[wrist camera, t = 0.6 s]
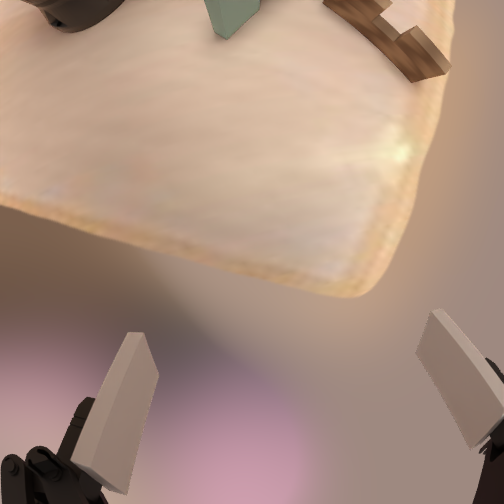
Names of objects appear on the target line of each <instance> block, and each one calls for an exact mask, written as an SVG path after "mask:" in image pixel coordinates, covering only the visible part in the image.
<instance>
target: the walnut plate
mask: <svg viewBox="0 0 504 504" xmlns="http://www.w3.org/2000/svg"><path fill="white" fill-rule="evenodd" d="M323 4H325V5H326V6H327V7H329V8H330V9H332V10H333V11H334V12H336V13H337V14H338V15H340V16H341V17H342V18H344V19H345V20H346V21H347V22H349V23H350V24H351V25H352V26H354V27H355V28H356V29H357V30H358V31H360V32H361V33H362V34H363V35H364V36H365V37H366V38H368V39H369V40H370V41H371V42H372V43H373V44H374V45H375V46H376V47H377V48H379V49H380V50H381V51H382V52H383V53H384V54H385V55H386V56H387V57H388V58H389V59H390V60H391V61H392V62H393V63H394V64H395V65H396V66H397V67H398V68H399V69H400V71H401V72H402V73H403V74H404V75H405V76H406V77H407V78H408V79H409V80H410V82H411V83H412V82H416V81H420V80H424V79H428V78H432V77H436V76H440V75H445V74H446V73H447V72H448V71H449V69H450V68H451V67H452V65H451V64H450V63H449V61H448V60H447V59H446V58H445V57H444V55H443V54H442V53H441V52H440V50H439V49H438V48H437V47H436V46H435V45H434V43H433V42H432V41H431V40H430V39H429V38H428V37H427V36H426V35H425V34H424V33H423V31H422V30H421V29H420V28H419V27H418V26H417V25H416V26H415V27H413V28H411V29H409V30H407V31H406V32H404V33H402V34H400V33H399V32H398V31H397V30H396V29H394V28H393V27H392V26H391V25H390V24H389V23H388V22H387V21H386V20H385V19H384V18H382V17H381V16H380V15H379V14H381V13H382V12H383V11H384V10H386V9H387V8H388V7H389V6H390V5H391V4H392V2H391V1H390V0H324V2H323Z"/></svg>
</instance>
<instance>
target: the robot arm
mask: <svg viewBox="0 0 504 504" xmlns="http://www.w3.org/2000/svg"><path fill="white" fill-rule="evenodd" d="M22 1H24V2H27V3H29V4H32V5H34V6H36V7H38V8H39V9H40V11H41V12H42V14H43V15H44V17H45V18H46V20H47V21H48V22H49V24H50V25H51V26H52V27H54V28H56V29H58V30H60V31H63V32H77V31H81V30H84V29H86V28H88V27H90V26H92V25H94V24H96V23H98V22H99V21H101V20H102V19H104V18H105V17H106V16H108V15H109V14H110V13H111V12H113V11H114V10H115V9H116V8H117V7H118V6H119V5H120V4H121V3H122V2H123V1H124V0H22ZM416 355H417V356H418V358H419V360H420V361H421V363H422V364H423V366H424V368H425V369H426V371H427V372H428V374H429V375H430V377H431V379H432V381H433V382H434V384H435V386H436V388H437V389H438V391H439V393H440V394H441V396H442V398H443V400H444V401H445V403H446V405H447V407H448V408H449V410H450V412H451V414H452V416H453V418H454V419H455V422H456V423H457V425H458V427H459V429H460V431H461V433H462V435H463V437H464V439H465V441H466V443H467V445H468V447H469V449H470V450H471V449H473V448H474V447H476V446H478V445H479V444H481V443H482V442H483V441H484V440H485V439H486V438H487V437H488V436H489V435H490V437H491V439H490V440H489V441H488V442H487V443H486V444H485V445H484V446H483V447H482V448H481V449H480V451H479V453H482V452H483V451H484V450H485V449H486V448H487V449H486V450H485V451H484V453H483V454H485V460H484V465H483V469H482V473H481V477H480V480H479V484H478V488H477V491H476V494H475V498H474V500H473V504H504V375H503V374H502V373H501V372H500V370H499V368H498V367H497V366H496V364H495V363H494V362H492V361H491V360H489V359H488V358H485V359H484V357H483V356H482V355H481V354H480V352H479V351H478V350H477V349H476V347H475V346H474V345H473V344H472V342H470V340H469V339H468V338H467V337H466V335H465V334H464V333H463V332H462V331H461V330H460V328H459V327H458V326H457V325H456V324H455V322H453V320H452V319H451V318H450V317H449V316H448V315H447V314H446V313H445V312H444V310H443V309H437V310H432V311H430V314H429V317H428V320H427V323H426V326H425V329H424V332H423V335H422V338H421V340H420V343H419V345H418V348H417V350H416ZM158 377H159V373H158V371H157V368H156V366H155V363H154V360H153V358H152V355H151V353H150V350H149V347H148V344H147V341H146V338H145V335H144V333H140V332H128V333H127V335H126V338H125V339H124V341H123V343H122V345H121V347H120V349H119V351H118V353H117V355H116V357H115V359H114V361H113V363H112V365H111V367H110V369H109V371H108V373H107V375H106V378H105V380H104V382H103V384H102V386H101V388H100V391H99V393H98V395H97V397H96V399H95V398H91V397H86V398H85V399H84V400H83V401H82V402H81V403H80V404H79V405H78V407H77V409H76V411H75V413H74V418H72V420H71V422H70V426H69V427H68V429H67V431H66V434H65V436H64V438H63V440H62V443H61V445H60V448H59V450H58V452H57V454H56V455H55V454H53V452H51V451H50V450H49V449H48V448H47V447H43V446H36V447H34V448H32V449H31V450H30V451H29V452H28V453H27V456H26V459H25V461H23V460H22V459H21V458H20V457H18V456H17V455H15V454H10V455H7V456H6V457H5V458H4V459H3V461H2V464H1V493H2V494H1V495H2V504H108V502H107V500H106V498H105V497H104V494H103V493H102V492H101V488H102V486H104V487H105V488H106V489H108V490H110V491H113V492H117V493H120V494H124V495H127V493H128V488H129V483H130V479H131V476H132V471H133V467H134V463H135V459H136V455H137V451H138V448H139V444H140V440H141V436H142V433H143V429H144V425H145V422H146V418H147V414H148V411H149V408H150V404H151V401H152V397H153V394H154V390H155V387H156V384H157V381H158Z"/></svg>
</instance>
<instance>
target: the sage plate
mask: <svg viewBox="0 0 504 504" xmlns="http://www.w3.org/2000/svg"><path fill="white" fill-rule="evenodd" d="M204 1H205V4H206V7H207V10H208V13H209V16H210V19H211V23H212V26H213V29H214V32H215V33H217V34H218V35H220V36H222V37H224V38H225V39H228V38H229V37H230V36H231V35H232V34H234V33H235V32H236V31H237V30H238V29H239V28H240V27H241V26H242V25H243V24H244V23H245V22H246V21H247V20H248V19H249V18H251V17H252V16H253V15H254V14H255V13H256V12H257V11H258V10H259V8H260V0H204Z"/></svg>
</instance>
